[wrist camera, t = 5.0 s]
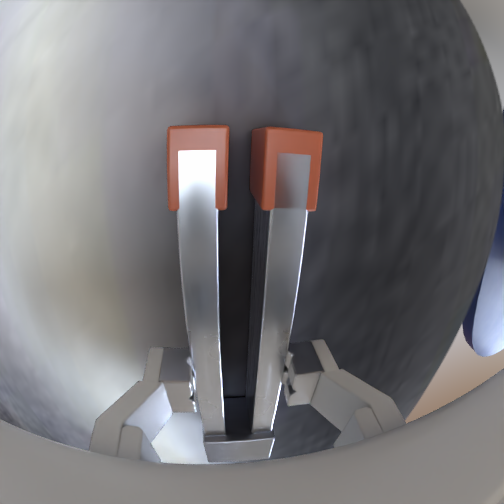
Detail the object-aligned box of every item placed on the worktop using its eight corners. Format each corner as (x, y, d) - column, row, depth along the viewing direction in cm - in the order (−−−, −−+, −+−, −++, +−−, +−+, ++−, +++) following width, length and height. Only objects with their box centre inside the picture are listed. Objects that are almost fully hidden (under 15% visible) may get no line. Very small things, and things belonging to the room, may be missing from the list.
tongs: (179, 129, 7) (162, 125, 5) (295, 132, 8) (331, 132, 5) (204, 423, 14) (206, 462, 11) (263, 420, 14) (271, 458, 12)
